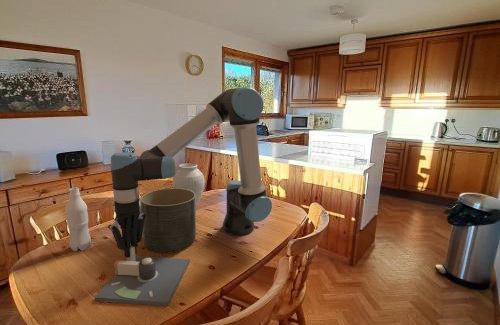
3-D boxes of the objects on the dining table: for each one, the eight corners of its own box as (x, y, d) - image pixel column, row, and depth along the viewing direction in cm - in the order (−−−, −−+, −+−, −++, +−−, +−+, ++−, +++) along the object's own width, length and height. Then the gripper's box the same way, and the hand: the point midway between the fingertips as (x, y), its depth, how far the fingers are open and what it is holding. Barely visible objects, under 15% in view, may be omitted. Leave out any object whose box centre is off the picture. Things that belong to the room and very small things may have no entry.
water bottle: (95, 245, 106) (89, 187, 101) (79, 254, 99) (71, 192, 94) (82, 242, 108) (76, 185, 103) (65, 250, 102) (57, 190, 96)
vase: (176, 201, 157) (174, 161, 152) (205, 201, 159) (205, 161, 154) (170, 213, 139) (168, 168, 134) (203, 212, 141) (203, 168, 136)
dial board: (190, 261, 96) (189, 258, 96) (168, 305, 75) (167, 301, 75) (132, 258, 98) (132, 255, 97) (95, 300, 76) (94, 296, 76)
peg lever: (158, 270, 88) (157, 256, 87) (151, 280, 83) (151, 265, 82) (120, 268, 89) (119, 254, 88) (112, 277, 84) (110, 262, 83)
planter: (155, 227, 123) (153, 187, 119) (201, 229, 122) (200, 188, 118) (133, 253, 101) (129, 204, 97) (189, 255, 101) (187, 206, 96)
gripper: (136, 192, 92) (140, 252, 97) (100, 203, 81) (106, 270, 86) (150, 196, 89) (154, 258, 94) (115, 208, 78) (121, 277, 82)
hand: (131, 263), depth 90 cm, fingers closed
